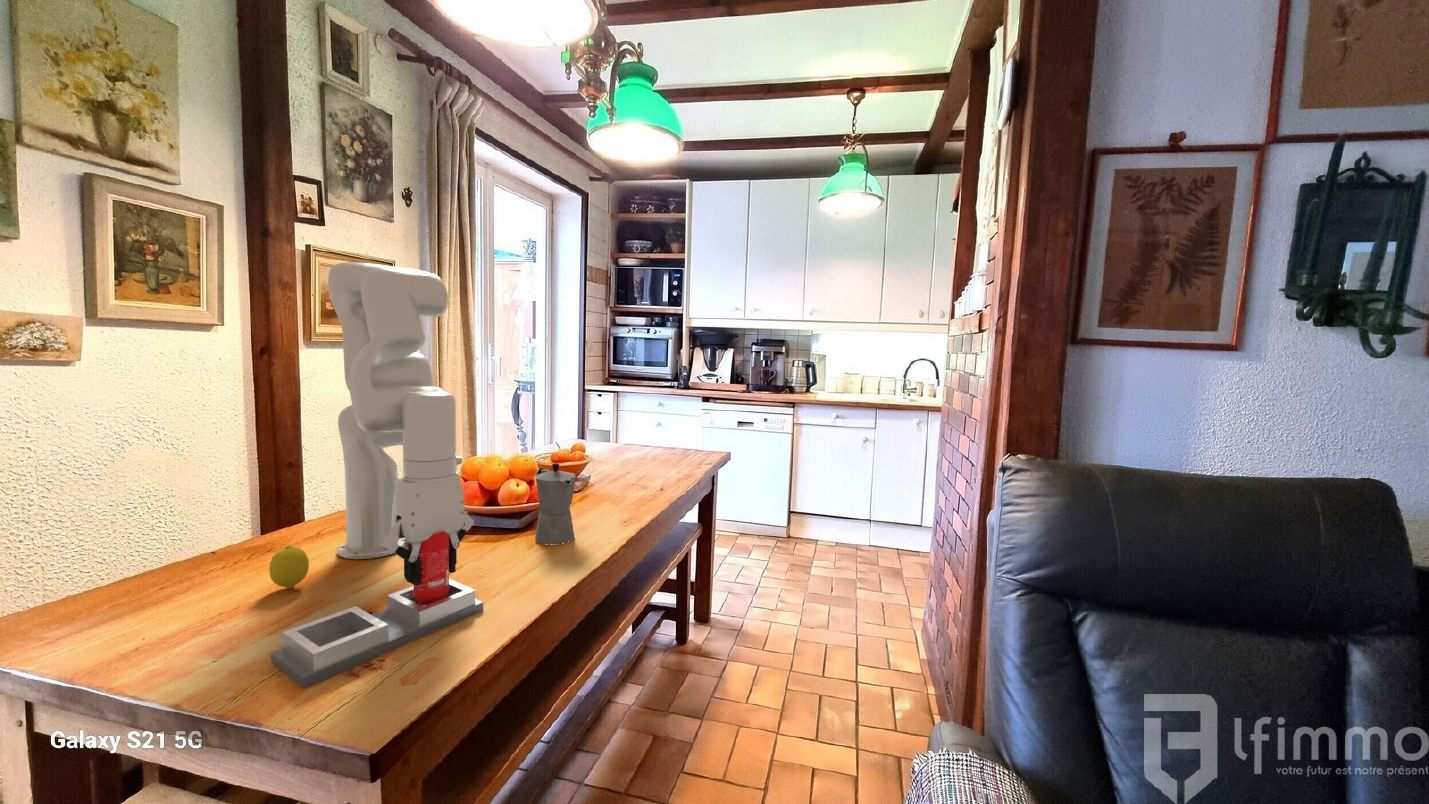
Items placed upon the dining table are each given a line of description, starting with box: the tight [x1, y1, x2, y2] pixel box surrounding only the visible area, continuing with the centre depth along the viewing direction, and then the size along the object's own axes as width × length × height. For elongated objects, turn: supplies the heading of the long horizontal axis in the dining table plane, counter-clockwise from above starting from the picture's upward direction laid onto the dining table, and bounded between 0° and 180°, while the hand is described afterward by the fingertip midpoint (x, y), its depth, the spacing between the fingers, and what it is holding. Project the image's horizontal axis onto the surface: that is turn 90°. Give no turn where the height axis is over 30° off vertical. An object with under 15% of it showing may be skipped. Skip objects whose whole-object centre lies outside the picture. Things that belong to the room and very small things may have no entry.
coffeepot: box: [534, 462, 577, 546], centre depth 126 cm, size 15×9×18 cm, turn 44°
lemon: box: [268, 544, 310, 590], centre depth 96 cm, size 6×6×8 cm
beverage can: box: [412, 530, 450, 605], centre depth 88 cm, size 5×5×12 cm
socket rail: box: [270, 578, 484, 690], centre depth 83 cm, size 10×26×4 cm, turn 148°
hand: (431, 575), depth 88 cm, fingers closed on beverage can, 5 cm apart
